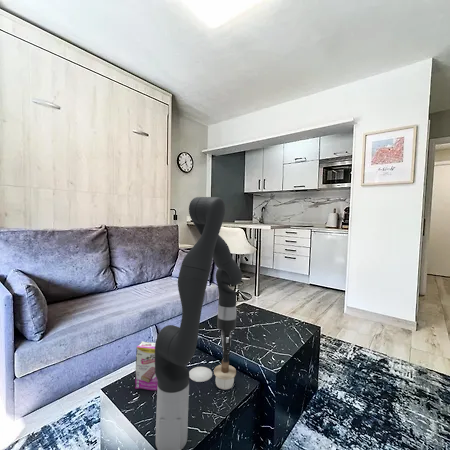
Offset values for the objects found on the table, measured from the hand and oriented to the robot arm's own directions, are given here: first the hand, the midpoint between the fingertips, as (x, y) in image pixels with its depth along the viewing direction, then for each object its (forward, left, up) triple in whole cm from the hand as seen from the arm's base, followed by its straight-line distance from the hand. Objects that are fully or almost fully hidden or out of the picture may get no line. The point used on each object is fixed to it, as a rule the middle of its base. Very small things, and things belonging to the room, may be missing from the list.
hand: (225, 356), depth 100 cm
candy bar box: (-2, +29, -12) cm, 31 cm away
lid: (0, 0, -7) cm, 7 cm away
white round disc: (+6, +10, -11) cm, 16 cm away
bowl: (0, 0, -11) cm, 11 cm away
